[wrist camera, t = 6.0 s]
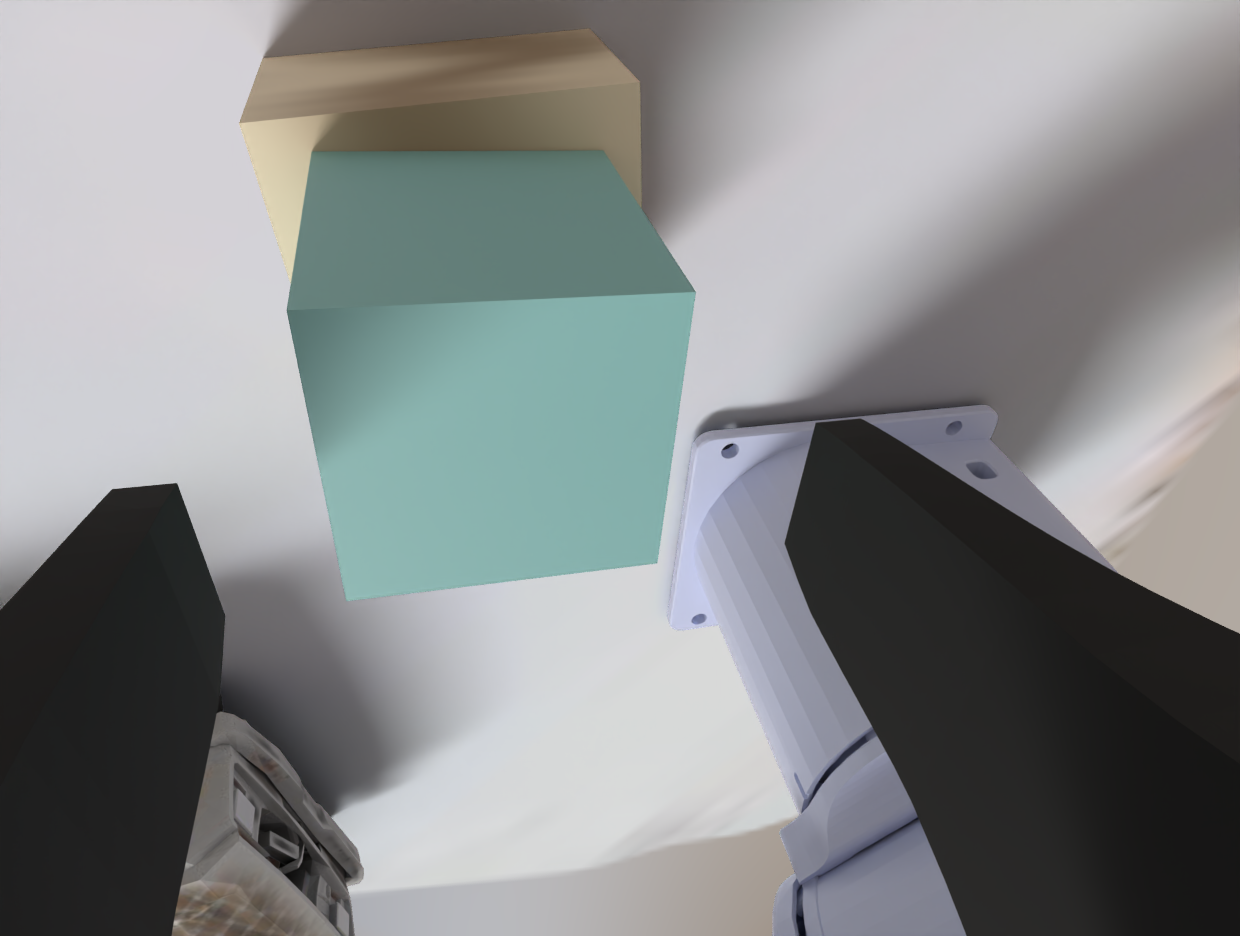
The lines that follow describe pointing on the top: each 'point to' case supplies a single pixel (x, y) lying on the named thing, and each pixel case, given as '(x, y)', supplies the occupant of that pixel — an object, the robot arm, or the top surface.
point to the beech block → (438, 108)
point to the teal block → (486, 365)
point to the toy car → (262, 848)
